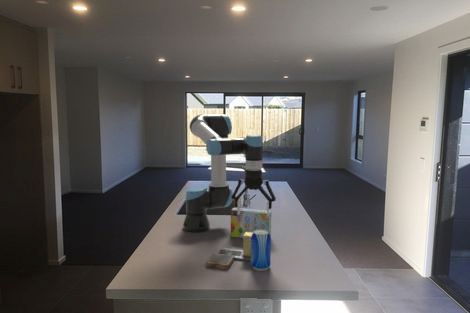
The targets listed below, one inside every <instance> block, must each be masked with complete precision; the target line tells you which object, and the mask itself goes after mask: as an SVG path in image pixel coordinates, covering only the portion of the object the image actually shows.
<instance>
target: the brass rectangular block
mask: <svg viewBox="0 0 470 313" xmlns="http://www.w3.org/2000/svg"><path fill="white" fill-rule="evenodd" d="M252 234H253V233H252V232H245V234H244V235H243V238H242V250H243V257H246V258H251V236H252Z"/></svg>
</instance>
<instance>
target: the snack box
mask: <svg viewBox="0 0 470 313" xmlns="http://www.w3.org/2000/svg"><path fill="white" fill-rule="evenodd" d="M257 229H264V230H267V231H269V234H270V236H271V237H272V211H271V210H269V217H267V210H263V209H254V208H242V207H240V214H239V215H237V207H232V208H231V210H230V237H232V238H241V239H243V235H244V234H245V232H252V233H254V232H253V231H254V230H257Z"/></svg>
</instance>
